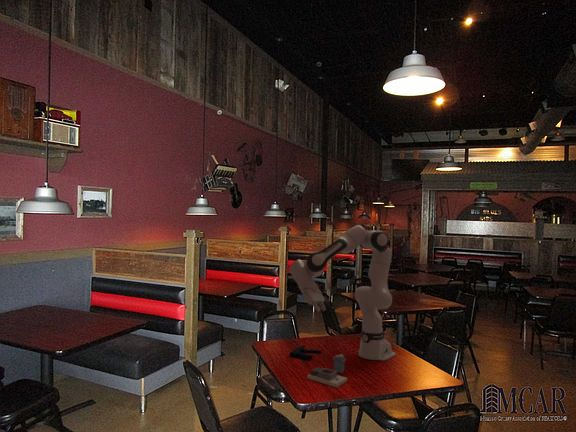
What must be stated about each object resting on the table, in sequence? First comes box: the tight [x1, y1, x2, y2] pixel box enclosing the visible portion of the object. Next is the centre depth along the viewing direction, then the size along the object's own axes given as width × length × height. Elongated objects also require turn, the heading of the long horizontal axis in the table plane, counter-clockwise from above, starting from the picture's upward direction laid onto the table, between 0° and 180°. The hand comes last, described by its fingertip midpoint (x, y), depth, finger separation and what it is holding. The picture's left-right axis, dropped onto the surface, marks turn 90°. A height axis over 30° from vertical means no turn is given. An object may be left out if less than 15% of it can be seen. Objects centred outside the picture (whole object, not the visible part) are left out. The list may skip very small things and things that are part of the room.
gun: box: [289, 344, 323, 361], centre depth 231 cm, size 24×3×15 cm
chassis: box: [306, 367, 348, 388], centre depth 192 cm, size 16×10×4 cm, turn 53°
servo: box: [332, 354, 347, 374], centre depth 204 cm, size 6×3×8 cm, turn 53°
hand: (321, 310), depth 211 cm, fingers open, 8 cm apart
